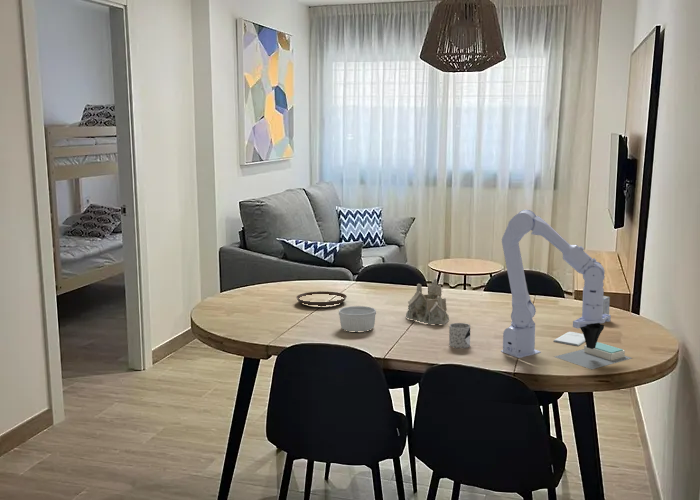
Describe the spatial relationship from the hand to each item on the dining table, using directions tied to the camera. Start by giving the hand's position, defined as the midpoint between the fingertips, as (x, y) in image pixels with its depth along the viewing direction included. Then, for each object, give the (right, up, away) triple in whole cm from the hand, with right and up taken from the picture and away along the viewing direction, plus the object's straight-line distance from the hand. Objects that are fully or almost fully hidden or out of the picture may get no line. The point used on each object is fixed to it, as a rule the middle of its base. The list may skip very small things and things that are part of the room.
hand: (590, 347), depth 204 cm
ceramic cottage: (-44, +3, +49) cm, 65 cm away
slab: (+3, -2, +2) cm, 4 cm away
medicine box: (+18, +4, +44) cm, 48 cm away
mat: (+1, -3, +1) cm, 4 cm away
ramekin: (-69, +1, +38) cm, 79 cm away
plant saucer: (-84, +7, +77) cm, 114 cm away
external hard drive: (+1, -1, +20) cm, 20 cm away
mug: (-36, -2, +18) cm, 41 cm away
